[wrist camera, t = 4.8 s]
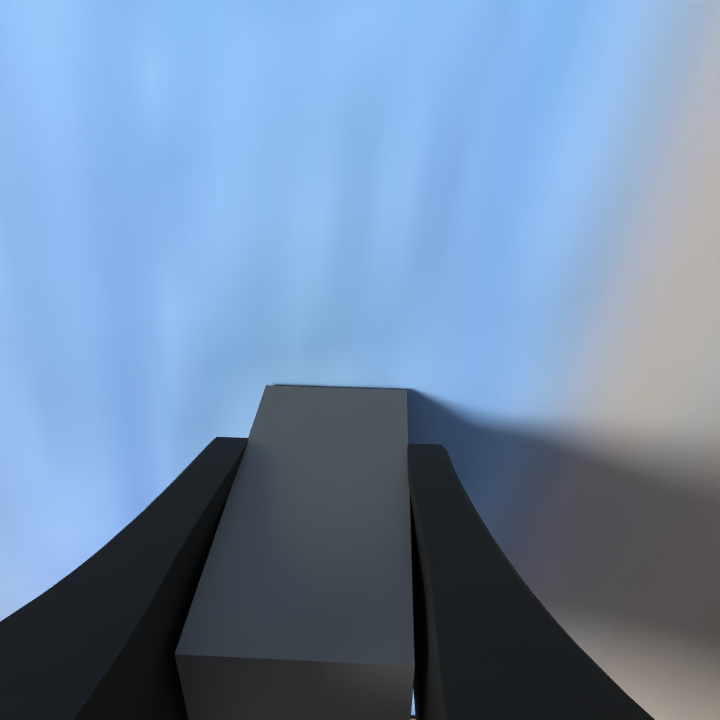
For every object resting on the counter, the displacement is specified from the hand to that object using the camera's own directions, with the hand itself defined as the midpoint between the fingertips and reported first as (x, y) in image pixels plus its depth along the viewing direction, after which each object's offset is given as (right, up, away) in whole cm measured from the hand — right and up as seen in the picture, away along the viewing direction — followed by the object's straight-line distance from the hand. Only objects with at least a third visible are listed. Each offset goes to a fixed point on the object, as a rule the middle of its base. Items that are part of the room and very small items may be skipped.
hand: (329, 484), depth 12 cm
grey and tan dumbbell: (0, -5, +5) cm, 7 cm away
